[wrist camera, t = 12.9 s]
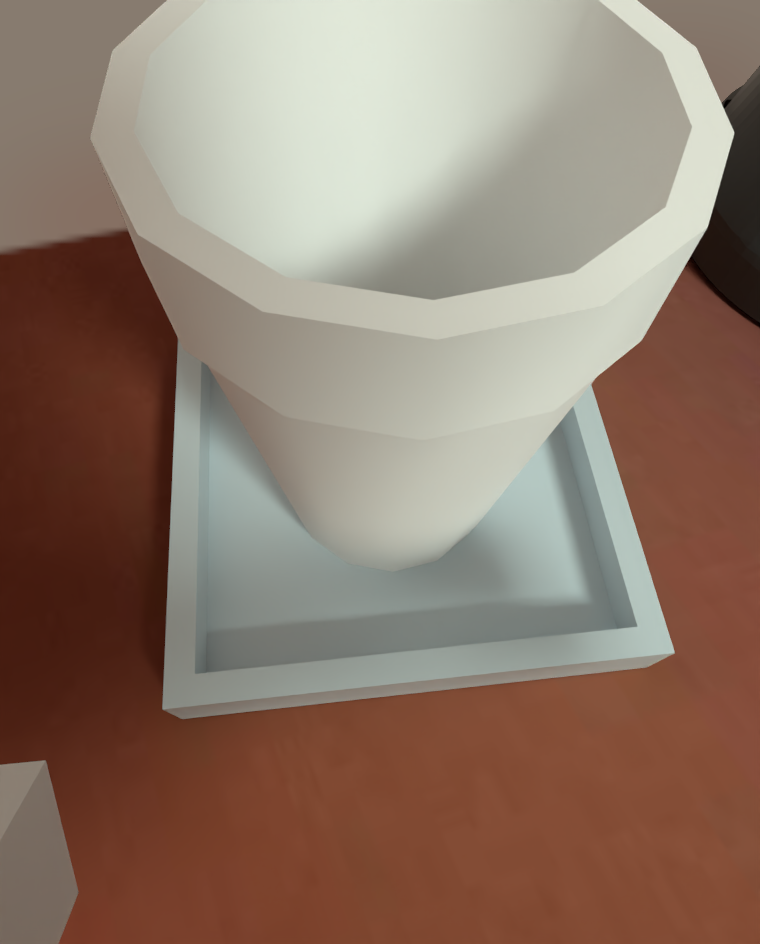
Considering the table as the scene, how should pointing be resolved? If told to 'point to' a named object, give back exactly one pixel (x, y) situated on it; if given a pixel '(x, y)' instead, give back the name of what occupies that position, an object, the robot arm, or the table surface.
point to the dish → (393, 579)
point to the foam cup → (408, 230)
